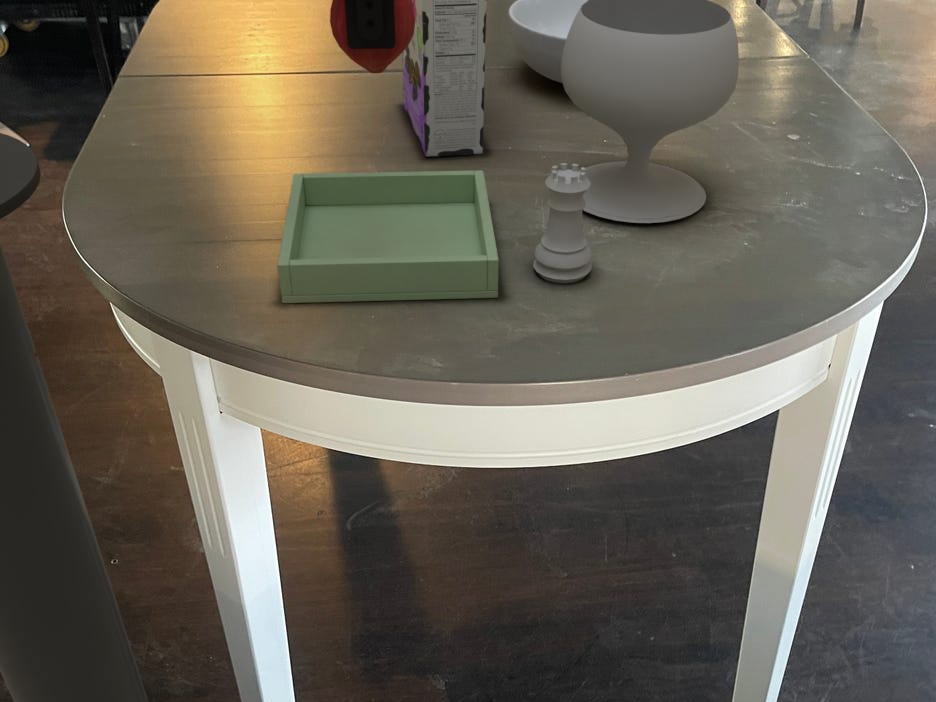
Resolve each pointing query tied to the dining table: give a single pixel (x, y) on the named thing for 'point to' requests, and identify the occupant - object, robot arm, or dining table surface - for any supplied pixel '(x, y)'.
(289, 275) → the tray
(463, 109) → the candy box
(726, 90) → the chalice
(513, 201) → the dining table surface
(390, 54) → the onion
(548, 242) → the rook chess piece
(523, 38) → the serving bowl
